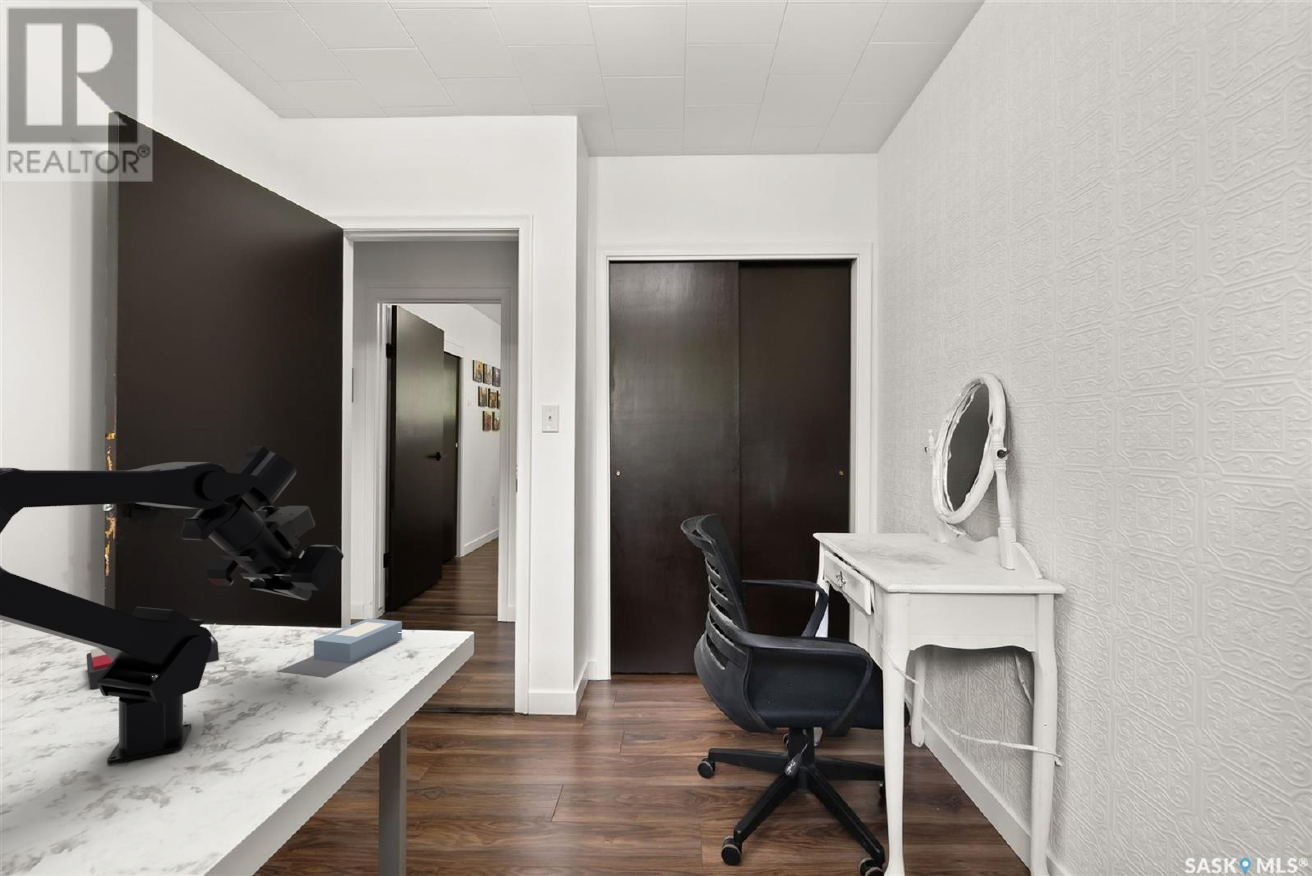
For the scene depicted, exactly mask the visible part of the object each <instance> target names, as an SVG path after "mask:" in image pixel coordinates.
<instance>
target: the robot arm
mask: <svg viewBox="0 0 1312 876" xmlns="http://www.w3.org/2000/svg"><path fill="white" fill-rule="evenodd" d="M239 461H240V462H239V463H237V465H236V466H235V467H234V468H233V469H231V471H227V470H226V469H225V466H224V465H223V464H220V463H219V462H212V461H211V462H209V461H208V462H206V461H203V462H201V461H172V462H164V463H158V464H152V465H147V466H146V465H145V466H143V467H139V468H134V469H133V468H132V469H128V470H91V469H90V470H75V469H74V470H71V469H70V470H68V469H67V470H66V469H65V470H64V469H63V470H62V469H58V470H57V469H55V470H53V469H52V470H51V469H50V470H49V469H43V470H42V469H36V470H34V469H20V468H17V467H0V535H1V534H2V532H3V531H4V530H5V528H6V527H7V525H8V523H9V522H10V521H11V520H12V518H13V517H14V516H15V515H17V514H18V513H19V512H20V511H21V510H22V509H24V508H26V509H27V508H47V507H68V506H95V505H115V504H138V505H143V506H150V507H151V506H152V507H158V508H167V509H168V508H169V509H190V510H198V511H197V512H196V514H195V515H193V517H185V518H184V519H183V527H182V529H181V532H180V538H181V539H182V540H189V541H190V540H191V541H206V540H207V539H208V538H210V539H211V540H212V542H213V543H215V544H216V545H217V546H218V547H219V548H220V549H221V551H220V552H219V553H218V555H217V556H216V557H215V559H213V561H212V563H211V564H210V565H209V566H208V567H207V569H206V579H208V580H209V581H210V582H211V583H213V585H214V586H217V587H218V586H219V587H220V586H221V587H222V586H223V587H231V586H232V585H233V583H234V579H233V578H232V577H231V575H232V574H233V572H234V570H235V569H238V570H239V569H241V570H240V571H239V572H238V574H239V575H240V576H241V577H242V578H243V579H247V580H249V581H250V584H249V586H248V587H249V589H251V590H256V591H262V592H267V593H270V594H271V593H272V594H275V595H280V596H285V597H289V598H293V599H294V598H295V599H298V600H302V601H309V600H310V598H311V597H312V594H313V593H312V591H321V590H322V589H324V588H326V585H327V584H328V582H329V581H330V580H331V578H332V576H333V574H334V573H335V572H336V570H337V568H338V567H339V565H340V563H341V561H342V560H343V558H345V556H344V553H343V551H342V550H341V549H340V548H339V547H338V546H337V544H313V545H309V546H307V548H306V550H305V551H304V549H297V547H298V546H299V545H300V542H301V541H299V540H298V539H299V538H300V537H301V536H302V535H303V534H304V533H305V534H306V533H307V531H309V530H312V529H313V528H315V526H316V523H315V520H314V518H313V514H312V513H311V509H310V507H309V505H286V506H278V507H275V506H273V503H274V502H275V501H276V499H278V498H279V496H281V495H280V494H281V493H282V492H283V491H284V490H285V488H286V487H287V486H288V485H289V484H290V482H291V481H292V480H293V479H294V477H295V476H296V474H297V468H296V466H295V465H294V463H293V462H292V461H291V460H288V459H286V458H285V457H283V456H282V455H280V454H278V453H276V452H272V451H270V450H269V449H268V448H267V447H266V446H264V445H258V446H256V445H252V446H251V447H250V448H249V449H248V450H247V452H246V453H245V456H244V457H242V459H241V460H239ZM254 509H256V510H254ZM0 621H3V622H6V623H10V624H14V625H18V626H21V627H23V628H24V627H25V628H28V629H32V630H35V631H38V632H42V633H44V634H45V633H46V634H48V635H53V636H55V637H59V638H63V639H65V640H69V641H72V642H76V643H80V644H83V645H87V646H91V647H94V648H99V649H101V650H102V651H103V652H104V653H105V654H106V655H108V656H109V657H110V658H111V659H112V660H114V661H113V662H112V663H111V665H110V666H109V667H108V668H107V669H106V670H105V672H104V673H103V674H102V675H101V676H100V678H99V679H98V680H97V685H98V687H99V691H100V693H101V695H102V696H103V697H114V698H115V697H116V698H118V742H117V744H116V746H115V748H113V750H112V752H111V753H110V754H109V756H108V757H107V761H106V762H107V764H108V765H113V764H116V763H117V764H118V763H122V762H128V761H132V760H137V759H142V758H148V757H153V756H158V755H163V754H168V753H169V754H170V753H174V752H178V751H181V750H182V749H183V748H184V745H185V743H186V742H187V738H188V737H189V734H190V732H191V730H192V723H185V724H184V695H186V694H187V693H190V692H193V691H195V690H198V689H199V688H200V685H201V682H202V678H203V675H204V673H205V670H206V666H207V664H208V663H207V660H208V657H209V654H210V651H211V646H212V640H211V636H212V635H213V634H212V632H211V631H210V630H209V629H208V628H207V627H205V628H204V626H202V625H203V624H204V622H205V620H204V619H196V618H189V617H187V616H186V615H185V614H183V613H181V612H179V611H178V610H176V609H166V608H158V607H157V608H155V607H143V606H136V607H135V609H134V612H133V614H129V613H126V612H123V611H120V610H117V609H115V608H111V607H110V606H106V605H104V604H101V603H98V602H95V601H92V600H90V599H86V598H84V597H80V596H79V595H78V596H77V595H75V594H72V593H69V592H67V591H63V590H61V589H57V588H55V587H51V586H48V585H46V584H43V583H40V582H37V581H34V580H31V579H29V578H26V577H23V576H20V575H18V574H16V573H15V574H14V573H11V572H9V571H7V570H6V569H4V568H3V567H2V566H1V565H0ZM206 628H207V629H206ZM152 673H153V674H159V675H158V676H154V677H152V676H151V674H152Z"/></svg>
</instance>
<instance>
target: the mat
mask: <svg viewBox="0 0 1312 876" xmlns="http://www.w3.org/2000/svg"><path fill="white" fill-rule="evenodd" d="M399 643H400V642H399V641H396V642H394V643H392V644H390V645H388V646H385V647H383V648H381V649H379V650H377V651H375V652H373V653H371V654H369V655H367V656H364V657H362V658H360V659H358V660H356V661H354V662H352V663H345V662H336V661H328V660H319V659H314V655H312V656H310V657H307V658H305V659H302V660H300V661H297V662H296V663H293V664H290V665H289V666H286V667H284V668H282V669H278V670H276V671H277V673H285V674H293V675H300V676H301V675H302V676H308V677H317V678H325V679H326V678H328V677H330V676H331V677H332V676H334V675H335V674H337V673H339V672H341V671H343V670H346V669H347V668H349V667H351V666H353V665H356V664H358V663H359V662H362V661H364V660H366V659H368V658H370V657H372V656H374V655H376V654H378V653H381V652H382V651H385V650H387V649H388V648H391V647H393V646H395V645H397V644H399Z"/></svg>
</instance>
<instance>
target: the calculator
mask: <svg viewBox="0 0 1312 876" xmlns="http://www.w3.org/2000/svg"><path fill="white" fill-rule="evenodd" d="M203 627H204V626H203ZM204 628H206V629H208V628H207V627H204ZM211 640H212V646H211V651H210V654H209V657H208V660H207V663H206V664H209V663H212V662H213V663H214V662H217V661H219V660H220V656H219V642H218V640H217V639H216V638H215V637H214V636H213V634H212V636H211ZM113 661H114V660H112V659H111V658H110V657H109V656H108V655H106V654H105V653H104V652H103V651H102V650H101V649H99V648H97V647H95V648H92V649H90V652H88V653H86V668H87V674H88V675H87V676H88V683H89V690H92V691H93V690H98V689H99V687H98V685H97V680H98V679H99V678H100V676H101V675H102V674H103V673H104V672H105V670H106V669H107V668H108V667H109V666H110V665H111V663H112V662H113ZM155 675H159V674H153V673H152V674H151V676H154V677H156V676H155ZM99 690H100V689H99Z"/></svg>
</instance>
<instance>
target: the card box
mask: <svg viewBox="0 0 1312 876" xmlns="http://www.w3.org/2000/svg"><path fill="white" fill-rule="evenodd" d="M402 627H403V622H402V621H401V620H389V619H378V618H368V617H367V618H365V619H364V620H361V621H359V622H356V623H353V624H351V625H348V626H346V627H342V628H341V629H338V630H335V631H333V632H331V633H327V634H325V635H323V636H320V637H318V638H315V639H314V640H313V656H314V659H319V660H328V661H336V662H345V663H352V662H354V661H356V660H358V659H360V658H362V657H364V656H367V655H369V654H371V653H373V652H375V651H377V650H379V649H381V648H383V647H385V646H388V645H390V644H392V643H394V642H399V641H400V640H403V639H402V638H403V628H402ZM352 629H354V630H352ZM398 632H402V633H398Z"/></svg>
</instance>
